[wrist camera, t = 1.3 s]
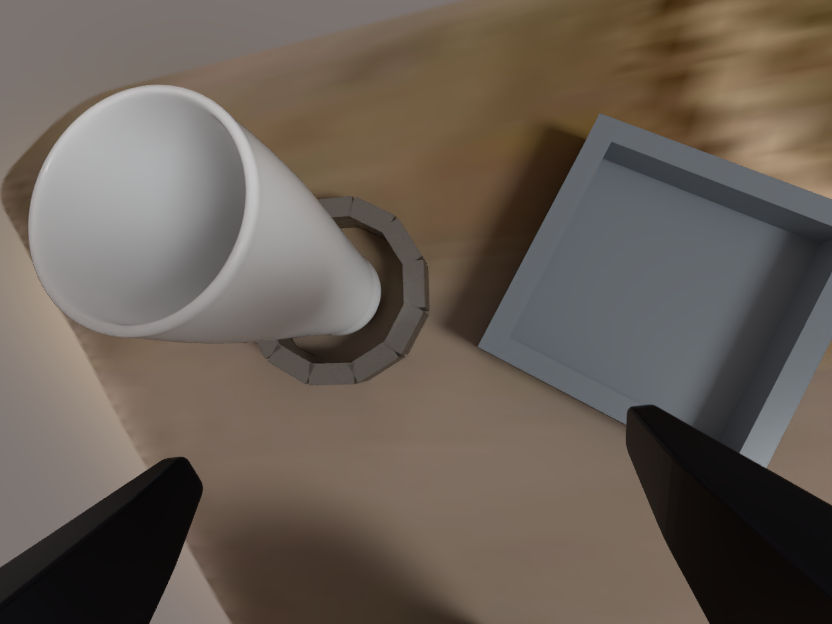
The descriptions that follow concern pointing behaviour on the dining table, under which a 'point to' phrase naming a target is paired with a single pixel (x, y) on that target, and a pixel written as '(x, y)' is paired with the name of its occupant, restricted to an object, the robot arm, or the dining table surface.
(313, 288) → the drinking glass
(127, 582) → the robot arm
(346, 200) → the holder ring
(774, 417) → the tray
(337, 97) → the dining table surface
